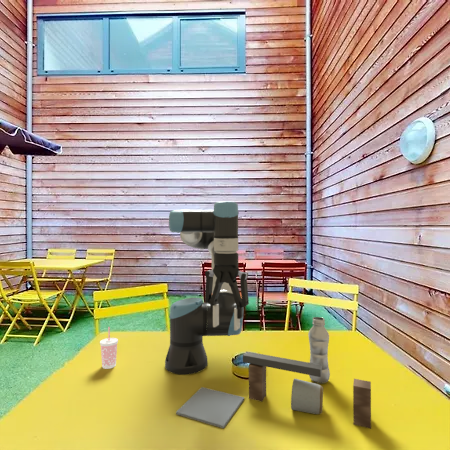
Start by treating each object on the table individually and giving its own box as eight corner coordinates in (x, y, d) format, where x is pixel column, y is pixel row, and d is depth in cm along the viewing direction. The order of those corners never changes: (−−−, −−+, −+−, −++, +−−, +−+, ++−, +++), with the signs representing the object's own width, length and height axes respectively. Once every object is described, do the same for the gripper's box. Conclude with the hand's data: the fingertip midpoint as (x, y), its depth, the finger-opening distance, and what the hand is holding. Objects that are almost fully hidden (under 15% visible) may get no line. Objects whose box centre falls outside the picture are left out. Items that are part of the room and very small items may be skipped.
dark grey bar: (242, 362, 91) (242, 355, 91) (246, 358, 93) (246, 351, 94) (320, 377, 82) (320, 369, 82) (322, 372, 84) (322, 364, 84)
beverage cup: (97, 365, 111) (97, 326, 111) (114, 360, 115) (114, 323, 115) (103, 371, 107) (103, 330, 107) (120, 366, 111) (120, 327, 111)
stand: (248, 398, 89) (248, 365, 89) (253, 391, 93) (253, 359, 93) (371, 428, 76) (370, 389, 76) (370, 419, 80) (370, 381, 80)
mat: (176, 414, 82) (176, 411, 82) (201, 388, 95) (201, 386, 95) (223, 428, 76) (223, 426, 76) (244, 399, 89) (244, 397, 89)
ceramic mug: (323, 421, 79) (323, 391, 79) (290, 415, 81) (290, 386, 82) (323, 400, 89) (323, 373, 89) (294, 395, 92) (294, 369, 92)
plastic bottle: (319, 388, 95) (319, 323, 95) (304, 378, 101) (303, 317, 101) (334, 383, 98) (334, 320, 98) (318, 374, 104) (318, 314, 104)
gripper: (192, 252, 95) (192, 326, 95) (251, 254, 87) (252, 335, 87) (204, 250, 102) (204, 320, 102) (260, 252, 94) (260, 327, 94)
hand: (226, 327), depth 95 cm, fingers open, 6 cm apart
